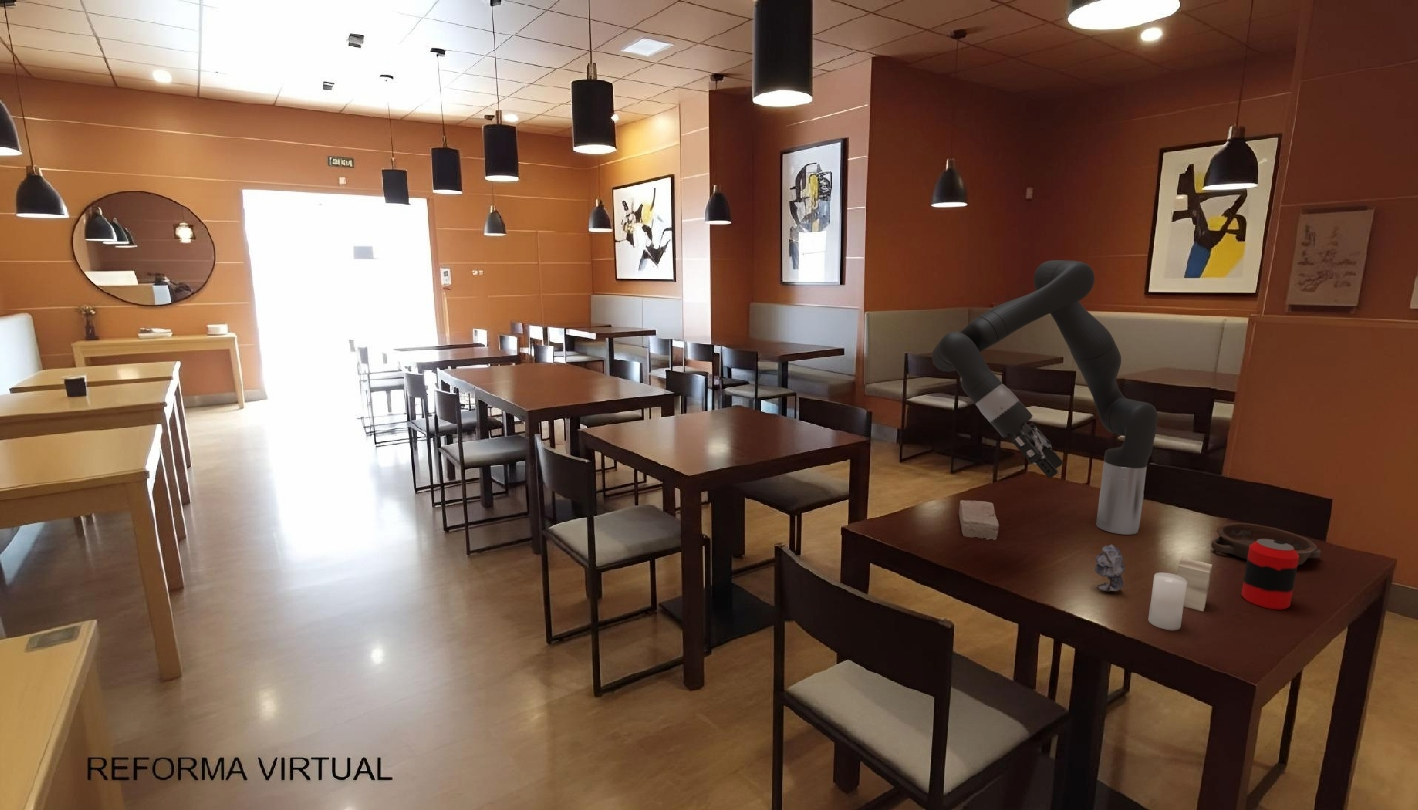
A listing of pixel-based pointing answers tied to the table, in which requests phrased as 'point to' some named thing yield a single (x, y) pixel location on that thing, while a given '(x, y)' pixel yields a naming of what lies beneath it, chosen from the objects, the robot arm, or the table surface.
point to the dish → (1243, 535)
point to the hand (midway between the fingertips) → (1056, 470)
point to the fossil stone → (1110, 568)
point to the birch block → (1195, 582)
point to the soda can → (1270, 574)
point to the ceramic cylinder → (1167, 601)
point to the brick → (978, 519)
